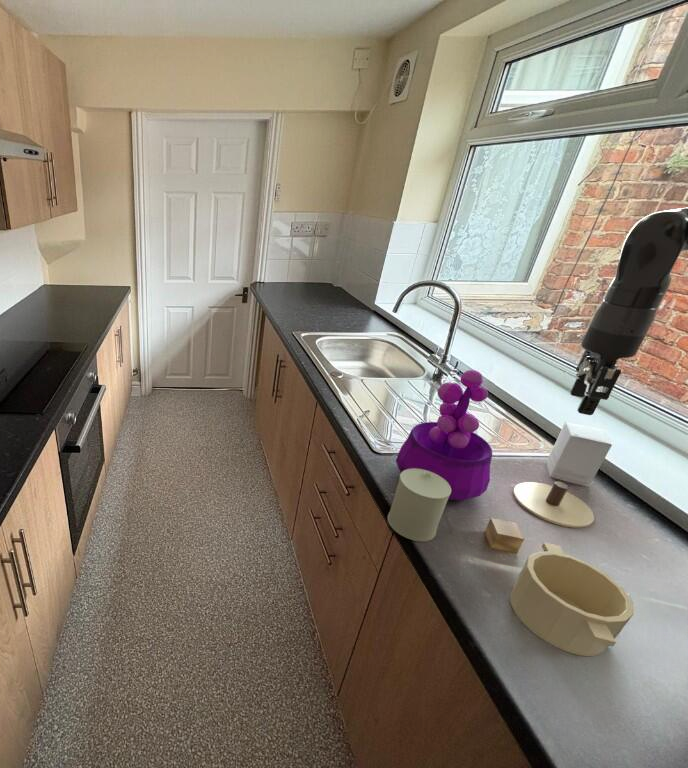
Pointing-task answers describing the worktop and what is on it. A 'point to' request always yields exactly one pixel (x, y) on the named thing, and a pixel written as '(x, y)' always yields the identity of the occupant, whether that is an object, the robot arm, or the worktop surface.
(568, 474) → the white packaging box
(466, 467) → the decorative plant
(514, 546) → the block
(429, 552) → the worktop surface
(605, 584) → the pot
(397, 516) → the can
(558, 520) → the lid
